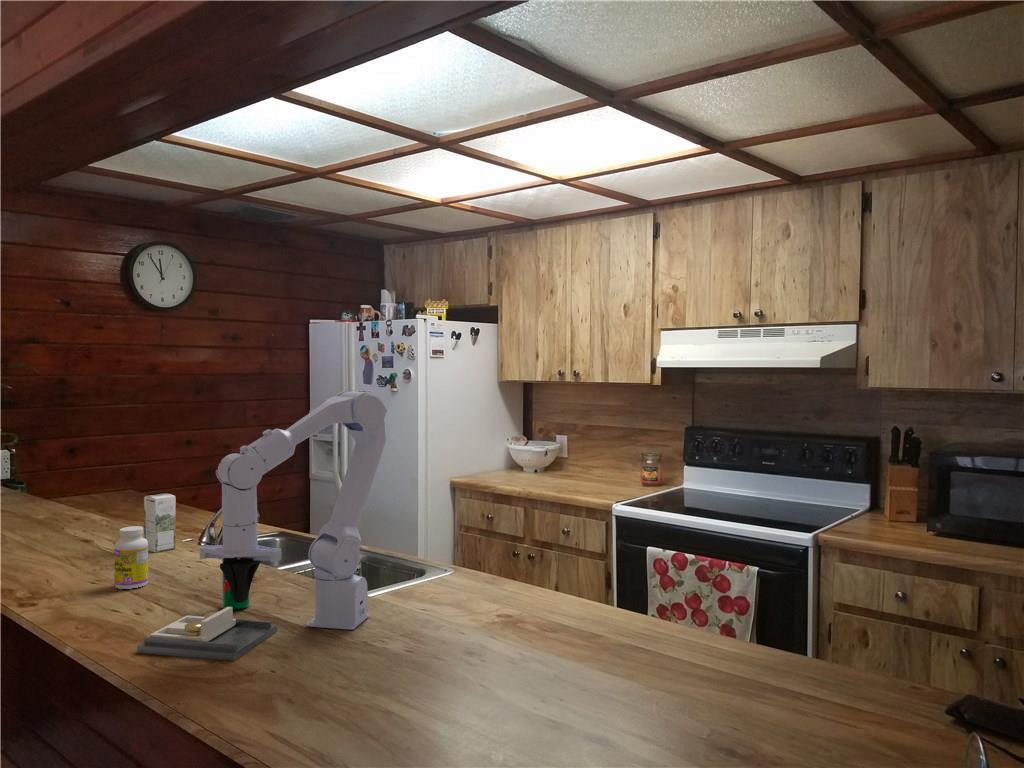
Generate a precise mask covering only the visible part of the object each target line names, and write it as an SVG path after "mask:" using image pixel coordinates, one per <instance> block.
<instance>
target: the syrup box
mask: <svg viewBox="0 0 1024 768" xmlns="http://www.w3.org/2000/svg"><path fill="white" fill-rule="evenodd" d="M176 498H177V497H176V495H174V494H171V493H160V494H154V495H153V494H152V495H145V496H143V511H144V512H143V522H144V523H143V526H144V527H143V538H145V539H146V540H147V541H148V552H151V553H152V552H153V553H159V552H165V551H170V550H175V549H176V504H177V503H176V502H177V501H176Z"/></svg>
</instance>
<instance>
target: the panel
mask: <svg viewBox="0 0 1024 768" xmlns="http://www.w3.org/2000/svg"><path fill="white" fill-rule="evenodd" d="M218 611H219V610H218ZM233 615H234V611H233V607H226V608H225V609H224V608H223V609H221V610H220V611H219V612H217V613H215V614H214V615H212V616H210V617H208V618H206V619H204V616H203V617H200V616H201V615H200V616H199V615H189V616H187V615H185V616H183V617H181V618H179V619H177V620H175V621H173V622H172V623H170V624H167V625H166V626H163V627H162V628H160V629H158V630H156V631H154V632H152V633H150V635H149V637H157V638H170V639H183V640H195V641H209V640H211V639H213V638H214V637H216V636H218V635H219V634H221V633H223V632H224V631H226V630H228V629H229V628H231V627H233V626H234V625H236V619H237V618H234V616H233ZM191 622H201V635H200V636H187V635H189V633H188V632H186V631H185V625H186V624H188V623H191ZM166 633H171V634H166ZM174 634H184V635H174Z"/></svg>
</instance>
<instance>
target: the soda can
mask: <svg viewBox="0 0 1024 768" xmlns="http://www.w3.org/2000/svg"><path fill="white" fill-rule="evenodd" d="M221 560H222V561H221V562H222V563H223V561H224V559H221ZM221 573H222V608H223V609H225V608H226V607H233V610H238V609H242V610H244V608H245V609H246V607H248V606H250V594H249V595H248V599H247V600H246V601H244V602H242V603H238V602H235V601H234V597H233V594H232V591H231V588H230V585H229V583H228V580H227V578H226V577H225V575H224V573H223V572H222V571H221ZM238 611H239V610H238Z"/></svg>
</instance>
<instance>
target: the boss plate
mask: <svg viewBox="0 0 1024 768" xmlns="http://www.w3.org/2000/svg"><path fill="white" fill-rule="evenodd" d="M217 612H219V610H218V611H217V610H216V611H210V612H207V613H205V614H204V615H203V616H202V615H200V617H204V619H206V618H208V617H210V616H212V615H214V614H215V613H217ZM186 616H190V614H189V615H186ZM235 619H236V625H234V626H233V627H231V628H229V629H228V630H226V631H224V632H223V633H221V634H219V635H218V636H216V637H214V638H213V639H211V640H209V641H195V640H183V639H170V638H157V637H150V636H145V637H144V638H143V642H142V643H139V644H138V645H137V646H136V652H137V654H145V655H157V656H158V655H159V656H167V657H168V656H170V657H180V658H181V657H183V658H193V659H194V658H195V659H207V660H216V661H217V660H218V661H227V660H229V661H230V662H235V661H236V660H238V659H239V658H241V657H242V656H244V655H245V654H246V653H248V652H249V651H251V650H252V649H255V647H257V646H258V645H260V644H261V643H262V642H265V640H267V639H268V638H270V637H272V636H273V635H274V634H276V633H277V632H278V625H277V624H272V621H271V620H257V619H243V618H241V619H239V618H235ZM185 631H186V632H188V633H189V635H187V636H200V635H201V622H191V623H188V624H186V625H185ZM166 634H171V633H166ZM174 635H184V634H174ZM240 656H241V657H240ZM237 658H238V659H237ZM234 660H235V661H234Z"/></svg>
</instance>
